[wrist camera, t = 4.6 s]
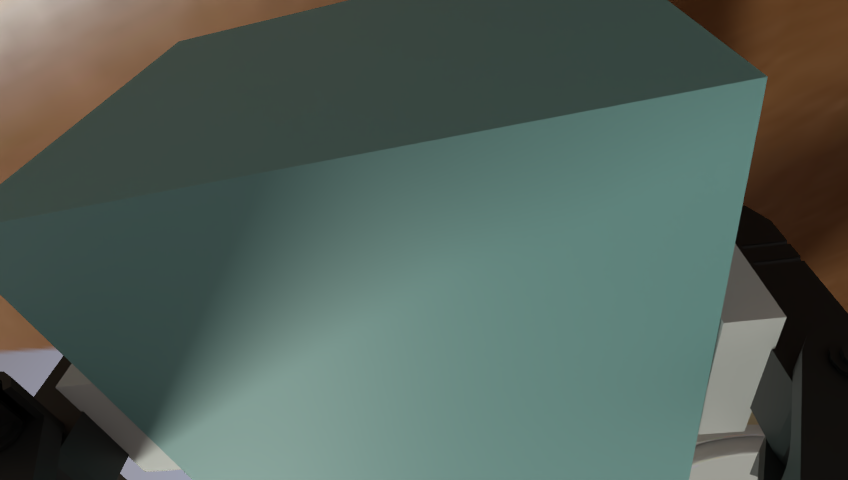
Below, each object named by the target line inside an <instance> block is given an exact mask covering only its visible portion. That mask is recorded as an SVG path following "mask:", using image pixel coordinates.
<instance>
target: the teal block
mask: <svg viewBox="0 0 848 480" xmlns="http://www.w3.org/2000/svg"><path fill="white" fill-rule="evenodd" d="M766 82H767V76H766V75H765V74H763V73H762V72H761V71H759V70H758V69H757V68H756V67H754V66H753V65H752V64H750V63H749V62H748V61H746V60H745V59H744V58H742V57H741V56H740V55H739V54H737V53H736V52H735V51H733V50H732V49H731V48H729V47H728V46H727V45H725V44H724V43H723V42H722V41H720V40H719V39H718V38H716V37H715V36H714V35H712V34H711V33H710V32H708V31H707V30H706V29H705V28H703V27H702V26H701V25H699V24H698V23H697V22H695V21H694V20H693V19H691V18H690V17H689V16H688V15H686V14H685V13H684V12H682V11H681V10H680V9H678V8H677V7H676V6H674V5H673V4H672V3H670V2H669V1H668V0H348V1H344V2H340V3H336V4H332V5H328V6H324V7H320V8H315V9H311V10H307V11H303V12H299V13H295V14H291V15H287V16H282V17H278V18H274V19H270V20H266V21H262V22H258V23H253V24H249V25H245V26H241V27H237V28H233V29H229V30H225V31H220V32H216V33H212V34H208V35H204V36H200V37H196V38H192V39H187V40H183V41H179V42H178V43H176V44H175V45H174V46H173V47H171V48H170V49H169V50H168V51H166V52H165V53H164V54H163V55H161V56H160V57H159V58H158V59H156V60H155V61H154V62H153V63H151V64H150V65H149V66H148V67H146V68H145V69H144V70H143V71H141V72H140V73H139V74H138V75H136V76H135V77H134V78H133V79H131V80H130V81H129V82H128V83H126V84H125V85H124V86H123V87H121V88H120V89H119V90H118V91H116V92H115V93H114V94H113V95H111V96H110V97H109V98H108V99H106V100H105V101H104V102H103V103H101V104H100V105H99V106H98V107H96V108H95V109H94V110H93V111H91V112H90V113H89V114H88V115H86V116H85V117H84V118H83V119H81V120H80V121H79V122H78V123H76V124H75V125H74V126H73V127H71V128H70V129H69V130H68V131H66V132H65V133H64V134H63V135H61V136H60V137H59V138H58V139H56V140H55V141H54V142H53V143H51V144H50V145H49V146H48V147H46V148H45V149H44V150H43V151H41V152H40V153H39V154H38V155H36V156H35V157H34V158H33V159H31V160H30V161H29V162H28V163H26V164H25V165H24V166H23V167H21V168H20V169H19V170H18V171H16V172H15V173H14V174H13V175H11V176H10V177H9V178H8V179H6V180H5V181H4V182H3V183H1V184H0V295H1V296H2V297H3V298H5V299H6V300H7V301H8V302H9V303H10V304H11V305H12V306H13V307H14V308H15V309H16V310H17V311H18V312H19V313H20V314H21V315H22V316H23V317H24V318H25V319H26V320H27V321H28V322H29V323H30V324H31V325H33V326H34V327H35V328H36V329H37V330H38V331H39V332H40V333H41V334H42V335H43V336H44V337H45V338H46V339H47V340H48V341H49V342H50V343H51V344H52V345H53V346H54V347H55V348H56V349H57V350H58V351H59V352H61V353H62V354H63V355H64V356H65V357H66V358H67V359H68V360H69V361H70V362H71V363H72V364H73V365H74V366H75V367H76V368H77V369H78V370H79V371H80V372H81V373H82V374H83V375H84V376H85V377H86V378H87V379H89V380H90V381H91V382H92V383H93V384H94V385H95V386H96V387H97V388H98V389H99V390H100V391H101V392H102V393H103V394H104V395H105V396H106V397H107V398H108V399H109V400H110V401H111V402H112V403H113V404H114V405H116V406H117V407H118V408H119V409H120V410H121V411H122V412H123V413H124V414H125V415H126V416H127V417H128V418H129V419H130V420H131V421H132V422H133V423H134V424H135V425H136V426H137V427H138V428H139V429H140V430H141V431H142V432H144V433H145V434H146V435H147V436H148V437H149V438H150V439H151V440H152V441H153V442H154V443H155V444H156V445H157V446H158V447H159V448H160V449H161V450H162V451H163V452H164V453H165V454H166V455H167V456H168V457H169V458H170V459H172V460H173V461H174V462H175V463H176V464H177V465H178V466H179V467H180V468H181V469H182V470H183V471H184V472H185V473H186V474H187V475H188V476H189V477H190V478H191V479H192V480H689V477H690V472H691V467H692V462H693V457H694V452H695V446H696V441H697V436H698V431H699V426H700V421H701V416H702V411H703V405H704V400H705V395H706V390H707V385H708V380H709V375H710V370H711V364H712V359H713V354H714V349H715V344H716V339H717V334H718V328H719V323H720V318H721V313H722V308H723V303H724V298H725V293H726V287H727V282H728V277H729V272H730V267H731V262H732V257H733V252H734V246H735V241H736V236H737V231H738V226H739V221H740V216H741V211H742V205H743V200H744V195H745V190H746V185H747V180H748V175H749V170H750V164H751V159H752V154H753V149H754V144H755V139H756V134H757V129H758V123H759V118H760V113H761V108H762V103H763V98H764V93H765V87H766Z"/></svg>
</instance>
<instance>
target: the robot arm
mask: <svg viewBox="0 0 848 480" xmlns="http://www.w3.org/2000/svg"><path fill="white" fill-rule="evenodd" d="M751 412H753V414H754V416H755V418H756V420H757V422H758V424H759V426H760V428H761V429H762V431H763V433H764V435H765V437H764V440H763V442H762V444H761V447H760V449H759V451H758V454H757V456H756V459H755V461H754V463H753V466H752V469H751V471H750V475H753V476H756V477H758V480H848V313H847V312H846V311H845V310H844V308H843V307H842V306H841V305H840V304H839V302H838V301H837V300H836V299H835V298H834V296H833V295H832V294H831V293H830V292H829V290H828V289H827V288H826V287H825V286H824V284H823V283H822V282H821V281H820V280H819V278H818V277H817V276H816V275H815V274H814V272H813V271H812V270H811V269H810V268H809V266H808V265H807V264H806V263H805V261H801V260H800V255H799V254H798V253H797V252H796V251H795V249H794V248H793V247H792V246H791V245H790V244H787V240H786V239H785V237H784V236H783V235H782V234H781V233H780V231H779V230H778V229H777V228H776V227H775V225H774V224H773V223H772V222H771V221H770V220H769V219H767V218H765V217H763V216H762V215H760V214H758V213H757V212H755V211H753V210H752V209H750V208H748V207H746V206H742V211H741V216H740V221H739V226H738V231H737V236H736V241H735V246H734V252H733V257H732V262H731V267H730V272H729V277H728V282H727V287H726V293H725V298H724V303H723V308H722V313H721V318H720V323H719V328H718V334H717V339H716V344H715V349H714V354H713V359H712V364H711V370H710V375H709V380H708V385H707V390H706V395H705V400H704V405H703V411H702V416H701V421H700V426H699V431H698V434H713V433H728V432H743V431H745V428H746V426H747V423H748V420H749V418H750V415H751ZM128 456H129V457H130V458H131V459H132V460H133V461H134V462H135V463H136V464H137V465H138V466H139V467H141V468H142V469H143V470H144V471H145V472H151V471H165V470H180V469H181V468H180V467H179V466H178V465H177V464H176V463H175V462H174V461H173V460H172V459H170V458H169V457H168V456H167V455H166V454H165V453H164V452H163V451H162V450H161V449H160V448H159V447H158V446H157V445H156V444H155V443H154V442H153V441H152V440H151V439H150V438H149V437H148V436H147V435H146V434H145V433H144V432H142V431H141V430H140V429H139V428H138V427H137V426H136V425H135V424H134V423H133V422H132V421H131V420H130V419H129V418H128V417H127V416H126V415H125V414H124V413H123V412H122V411H121V410H120V409H119V408H118V407H117V406H116V405H114V404H113V403H112V402H111V401H110V400H109V399H108V398H107V397H106V396H105V395H104V394H103V393H102V392H101V391H100V390H99V389H98V388H97V387H96V386H95V385H94V384H93V383H92V382H91V381H90V380H89V379H87V378H86V377H85V376H84V375H83V374H82V373H81V372H80V371H79V370H78V369H77V368H76V367H75V366H74V365H73V364H72V363H71V362H70V361H69V360H68V359H67V358H66V357H65V356H63V357H62V359H61V360H60V361H59V363H58V364H57V366H56V367H55V368H54V370H53V371H52V373H51V374H50V375H49V377H48V378H47V379H46V381H45V382H44V384H43V385H42V386H41V388H40V389H39V390H38V392H37V393H36V395H35V396H34V397H33V396H32V395H30V394H29V393H28V392H27V391H26V390H25V389H24V388H23V387H21V386H20V385H19V384H18V383H17V382H16V381H15V380H14V379H12V378H11V377H10V376H9V375H8V374H6V373H5V372H0V480H126V479H125V478H124V477H123V476H122V475H121V474H120V472H121V470H122V467H123V466H124V464H125V462H126V460H127V458H128Z"/></svg>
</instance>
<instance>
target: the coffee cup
mask: <svg viewBox="0 0 848 480" xmlns="http://www.w3.org/2000/svg"><path fill="white" fill-rule="evenodd" d="M764 437H765V435H764V433H763V431H762V429H761V428H760V426H759V424H758V422H757V420H756V418H755V416H754V414H753V412H751V415H750V418H749V420H748V423H747V426H746V428H745V431H743V432H728V433H713V434H698V436H697V441H696V446H695V452H694V457H693V462H692V467H691V472H690V477H689V480H758V477H756V476H753V475H750V471H751V469H752V466H753V463H754V461H755V459H756V456H757V454H758V451H759V449H760V447H761V444H762V442H763V440H764Z"/></svg>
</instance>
